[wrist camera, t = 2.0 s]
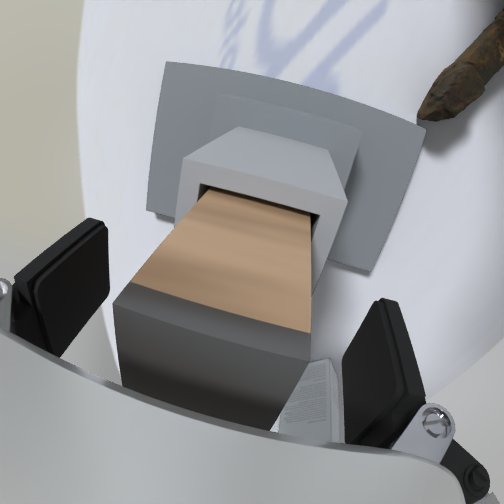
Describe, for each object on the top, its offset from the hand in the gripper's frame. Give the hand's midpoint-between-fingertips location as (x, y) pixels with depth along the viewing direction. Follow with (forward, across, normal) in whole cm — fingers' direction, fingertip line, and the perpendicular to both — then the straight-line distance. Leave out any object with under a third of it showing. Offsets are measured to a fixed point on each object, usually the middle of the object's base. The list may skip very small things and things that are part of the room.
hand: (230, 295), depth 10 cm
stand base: (+19, 0, 0) cm, 19 cm away
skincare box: (+19, -11, +24) cm, 32 cm away
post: (+13, 0, 0) cm, 13 cm away
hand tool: (+19, -15, -16) cm, 29 cm away
